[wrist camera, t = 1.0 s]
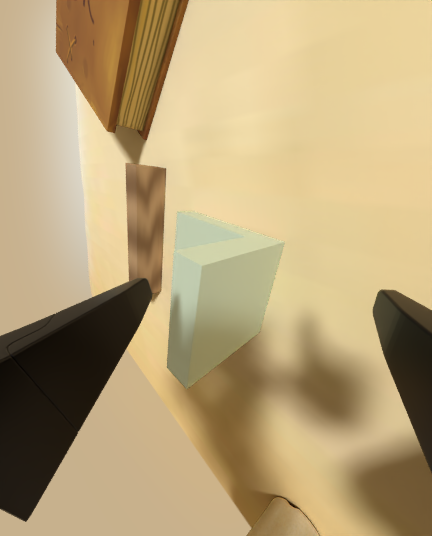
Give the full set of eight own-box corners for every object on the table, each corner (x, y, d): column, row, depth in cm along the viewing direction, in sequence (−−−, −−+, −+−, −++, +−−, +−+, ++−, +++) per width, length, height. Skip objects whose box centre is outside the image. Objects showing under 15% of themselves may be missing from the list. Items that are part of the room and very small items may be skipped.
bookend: (285, 241, 19) (201, 265, 12) (260, 331, 23) (186, 389, 16) (194, 210, 26) (107, 214, 19) (187, 284, 30) (113, 309, 23)
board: (154, 166, 29) (125, 162, 26) (165, 168, 27) (136, 164, 25) (152, 284, 36) (129, 291, 33) (160, 291, 35) (137, 298, 32)
